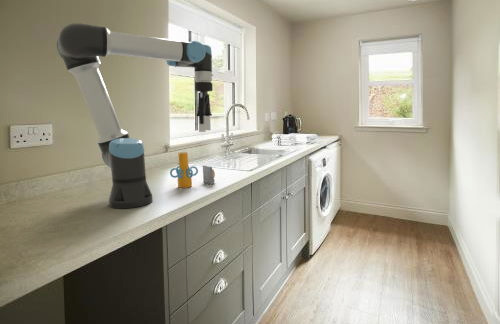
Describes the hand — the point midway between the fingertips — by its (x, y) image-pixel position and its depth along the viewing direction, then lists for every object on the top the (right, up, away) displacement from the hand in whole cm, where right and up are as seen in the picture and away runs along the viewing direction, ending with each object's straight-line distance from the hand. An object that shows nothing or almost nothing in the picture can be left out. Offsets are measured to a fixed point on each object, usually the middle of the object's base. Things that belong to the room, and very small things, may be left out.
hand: (205, 131), depth 155 cm
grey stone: (+1, -23, +4) cm, 24 cm away
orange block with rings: (-9, -25, -1) cm, 26 cm away
